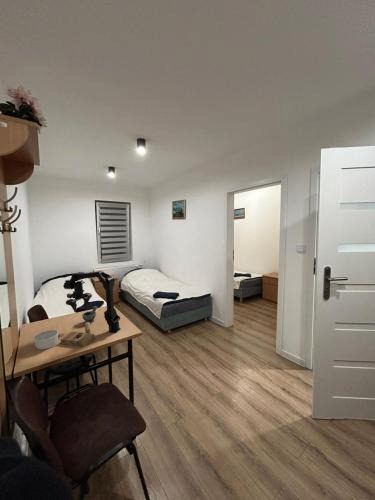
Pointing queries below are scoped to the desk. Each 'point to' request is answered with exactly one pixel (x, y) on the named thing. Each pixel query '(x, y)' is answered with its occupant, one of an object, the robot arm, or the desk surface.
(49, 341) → the ramekin
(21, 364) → the desk surface
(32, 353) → the desk surface
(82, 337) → the board
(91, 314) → the mortar and pestle
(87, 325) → the peg
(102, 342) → the desk surface
